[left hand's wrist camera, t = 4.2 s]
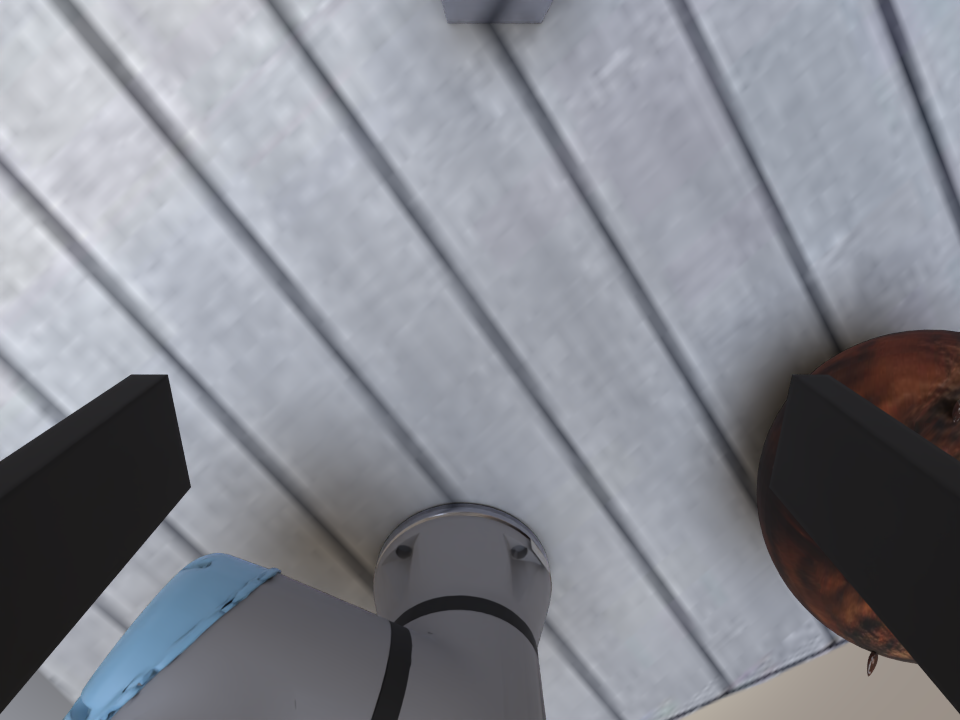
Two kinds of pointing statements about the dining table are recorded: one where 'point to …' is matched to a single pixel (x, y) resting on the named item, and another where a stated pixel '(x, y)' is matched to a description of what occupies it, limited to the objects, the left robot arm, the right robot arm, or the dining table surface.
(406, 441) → the dining table surface
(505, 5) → the bar
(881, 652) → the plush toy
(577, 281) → the dining table surface
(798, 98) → the dining table surface
